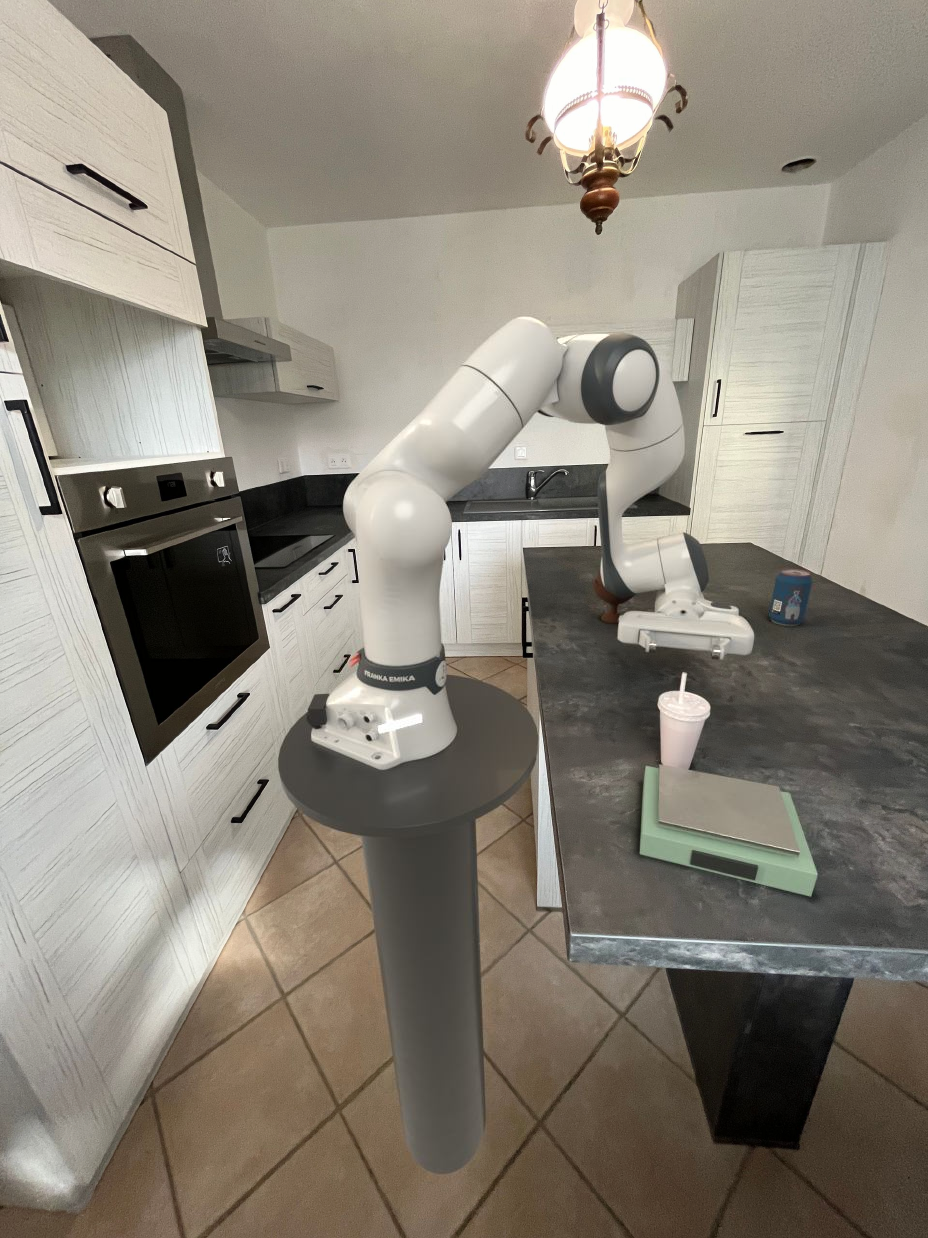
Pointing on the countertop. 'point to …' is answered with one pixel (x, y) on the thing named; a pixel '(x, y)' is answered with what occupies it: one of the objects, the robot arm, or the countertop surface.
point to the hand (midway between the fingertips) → (683, 651)
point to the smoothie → (681, 725)
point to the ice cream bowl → (608, 600)
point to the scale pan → (725, 810)
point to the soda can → (790, 597)
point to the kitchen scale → (726, 849)
